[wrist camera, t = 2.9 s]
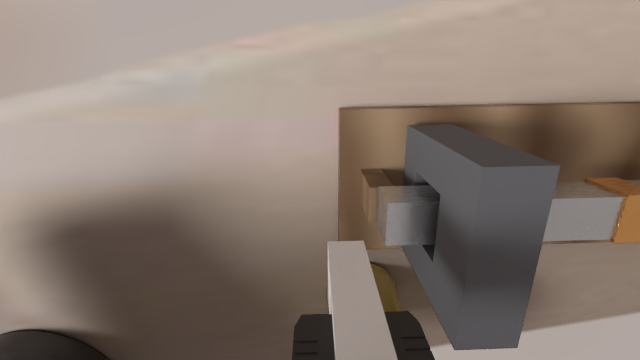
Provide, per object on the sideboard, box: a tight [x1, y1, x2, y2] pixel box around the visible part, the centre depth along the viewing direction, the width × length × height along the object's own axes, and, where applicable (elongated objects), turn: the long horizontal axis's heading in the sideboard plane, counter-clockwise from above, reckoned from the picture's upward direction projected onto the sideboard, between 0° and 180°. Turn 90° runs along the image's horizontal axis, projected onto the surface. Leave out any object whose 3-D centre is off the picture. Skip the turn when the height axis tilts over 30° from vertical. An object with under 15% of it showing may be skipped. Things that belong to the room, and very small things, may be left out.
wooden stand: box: [338, 102, 640, 249], centre depth 21 cm, size 27×11×9 cm, turn 91°
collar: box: [401, 124, 561, 350], centre depth 18 cm, size 3×9×10 cm, turn 1°
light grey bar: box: [376, 177, 640, 246], centre depth 19 cm, size 22×3×3 cm, turn 91°
